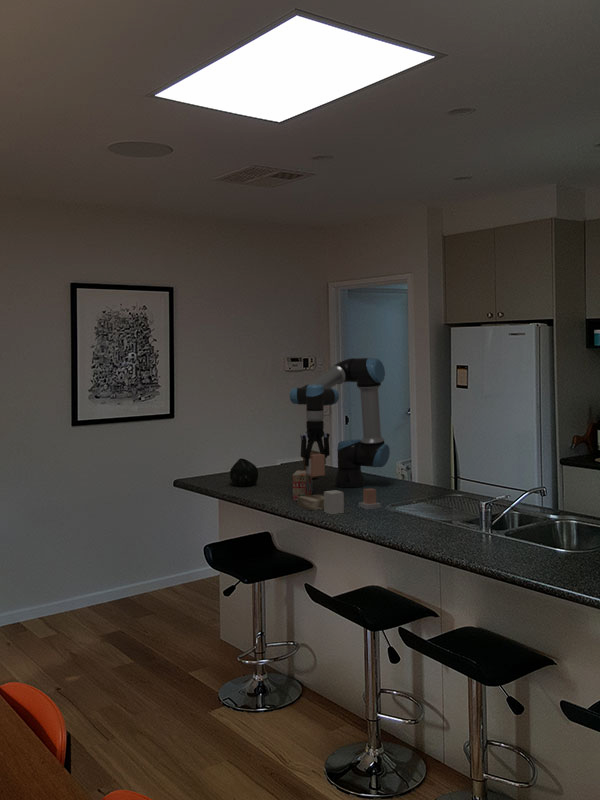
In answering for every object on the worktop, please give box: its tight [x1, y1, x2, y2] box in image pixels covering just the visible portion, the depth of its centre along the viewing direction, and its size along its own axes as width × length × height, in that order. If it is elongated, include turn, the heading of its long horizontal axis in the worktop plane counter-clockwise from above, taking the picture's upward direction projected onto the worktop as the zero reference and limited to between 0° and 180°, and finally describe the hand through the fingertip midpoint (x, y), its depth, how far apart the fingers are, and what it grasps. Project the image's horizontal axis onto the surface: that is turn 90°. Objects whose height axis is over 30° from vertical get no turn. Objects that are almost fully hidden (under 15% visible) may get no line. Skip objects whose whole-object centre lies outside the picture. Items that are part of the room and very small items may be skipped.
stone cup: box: [299, 449, 320, 479], centre depth 409 cm, size 15×12×15 cm
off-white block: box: [323, 489, 345, 515], centre depth 319 cm, size 6×6×9 cm
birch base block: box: [296, 493, 324, 511], centre depth 332 cm, size 12×12×4 cm
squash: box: [229, 458, 259, 487], centre depth 387 cm, size 14×15×15 cm
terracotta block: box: [306, 453, 326, 477], centre depth 331 cm, size 6×6×9 cm
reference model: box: [358, 487, 382, 511], centre depth 329 cm, size 7×7×8 cm
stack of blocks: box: [292, 469, 314, 501], centre depth 356 cm, size 21×6×12 cm, turn 170°
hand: (315, 472), depth 332 cm, fingers closed on terracotta block, 6 cm apart
